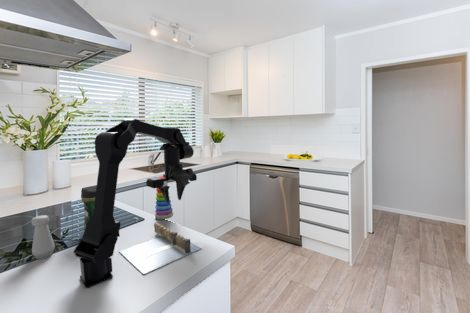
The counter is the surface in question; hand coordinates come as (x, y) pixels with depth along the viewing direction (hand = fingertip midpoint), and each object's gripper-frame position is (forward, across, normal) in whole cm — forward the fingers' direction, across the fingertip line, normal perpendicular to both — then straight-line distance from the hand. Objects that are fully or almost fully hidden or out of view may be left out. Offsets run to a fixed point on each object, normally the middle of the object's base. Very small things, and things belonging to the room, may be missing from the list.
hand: (173, 201), depth 94 cm
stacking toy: (+12, +5, +17) cm, 22 cm away
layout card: (+12, -12, -10) cm, 19 cm away
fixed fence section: (+12, -6, -14) cm, 19 cm away
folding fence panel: (+11, -6, -2) cm, 13 cm away
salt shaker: (+12, -39, +14) cm, 43 cm away
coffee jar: (+12, -21, +21) cm, 32 cm away
